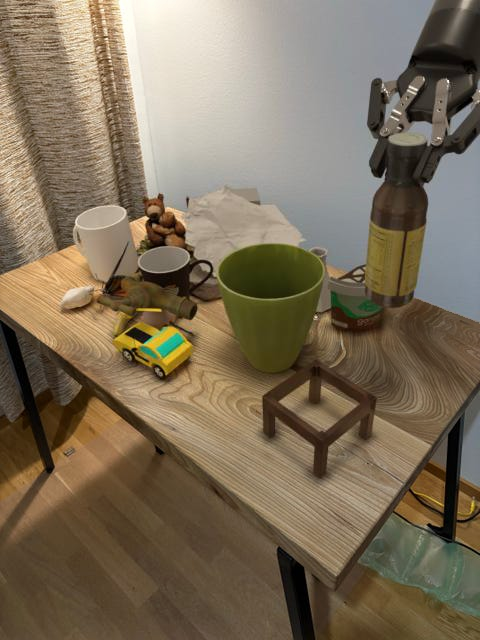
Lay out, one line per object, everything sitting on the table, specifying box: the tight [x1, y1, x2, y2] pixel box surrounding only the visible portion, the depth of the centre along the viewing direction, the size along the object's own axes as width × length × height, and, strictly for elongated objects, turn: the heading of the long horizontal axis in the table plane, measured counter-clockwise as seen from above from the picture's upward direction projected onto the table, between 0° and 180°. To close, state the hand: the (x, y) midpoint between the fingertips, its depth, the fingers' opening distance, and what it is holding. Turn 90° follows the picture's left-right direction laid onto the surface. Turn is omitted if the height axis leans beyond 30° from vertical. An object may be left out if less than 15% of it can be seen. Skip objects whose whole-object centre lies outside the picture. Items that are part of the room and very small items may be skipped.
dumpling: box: [59, 285, 97, 310], centre depth 96 cm, size 7×5×4 cm
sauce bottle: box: [365, 131, 429, 309], centre depth 61 cm, size 6×6×20 cm
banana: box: [112, 312, 138, 338], centre depth 91 cm, size 8×2×4 cm
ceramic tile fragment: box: [190, 264, 222, 301], centre depth 99 cm, size 12×3×10 cm
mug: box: [72, 204, 139, 283], centre depth 102 cm, size 10×12×12 cm
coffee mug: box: [138, 246, 213, 319], centre depth 91 cm, size 12×9×10 cm
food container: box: [327, 263, 385, 333], centre depth 86 cm, size 12×6×10 cm, turn 126°
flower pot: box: [216, 243, 325, 374], centre depth 78 cm, size 15×15×16 cm
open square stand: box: [261, 358, 378, 480], centre depth 68 cm, size 10×10×7 cm
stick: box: [169, 321, 195, 337], centre depth 86 cm, size 6×1×2 cm
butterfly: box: [89, 241, 129, 313], centre depth 94 cm, size 12×10×10 cm
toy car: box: [112, 308, 195, 380], centre depth 81 cm, size 12×8×8 cm, turn 53°
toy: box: [230, 187, 261, 205], centre depth 110 cm, size 10×8×15 cm
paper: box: [179, 184, 307, 277], centre depth 100 cm, size 24×6×20 cm
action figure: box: [96, 272, 198, 321], centre depth 82 cm, size 15×4×15 cm
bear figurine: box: [136, 192, 198, 264], centre depth 105 cm, size 14×15×12 cm
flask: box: [308, 246, 331, 313], centre depth 91 cm, size 7×7×10 cm
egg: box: [142, 309, 177, 331], centre depth 88 cm, size 5×5×7 cm
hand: (396, 178), depth 56 cm, fingers closed on sauce bottle, 4 cm apart
